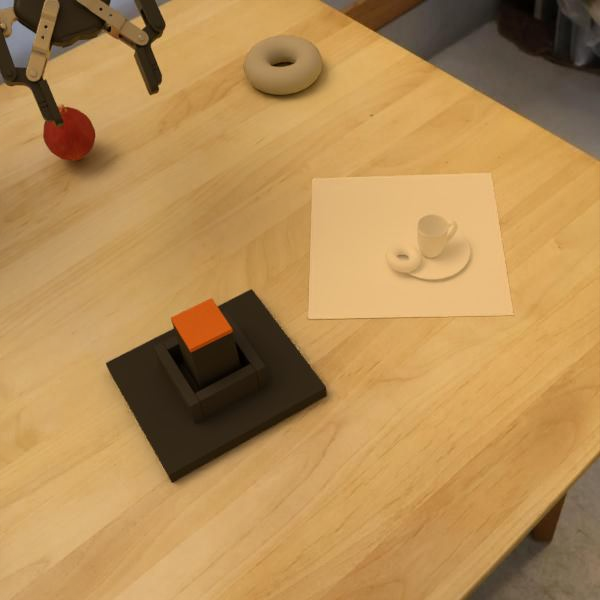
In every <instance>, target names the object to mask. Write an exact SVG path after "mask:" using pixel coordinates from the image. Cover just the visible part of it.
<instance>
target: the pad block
mask: <svg viewBox="0 0 600 600" xmlns="http://www.w3.org/2000/svg"><path fill="white" fill-rule="evenodd" d="M217 306H218V305H217V304H216V302H215V301H214V299H213V298H212V297H211V298H208V299H207V300H204V301H202V302H200V303H198V304H196V305H193V306H192V307H189V308H188V309H186V310H183V311H181V312H179V313H177V314H175V315H173V316H171V317H170V320H171V324H172V327H173V329H174V330H175V334H176V337H177V340H178V343H179V346H180V349H181V353H182V356H183V359H184V362H185V365H186V368H187V370H188V372H189V374H190V375H191V377H192V379H193V380H194V382H195V384H196V386H197V387H198V389H199V391H200V390H202V389H204V388H206V387H208V386H210V385H212V384H214V383H215V382H217V381H219V380H221V379H223V378H225V377H227V376H229V375H230V374H232V373H234V372H236V371H238V370H240V369H241V366H240V361H239V357H238V353H237V348H236V344H235V339H234V335H233V331H232V328H231V326H230V325H229V323H228V322H227V320H226V319H225V317H224V316H223V314H222V313H221V311H220V310H219V308H218V307H217Z"/></svg>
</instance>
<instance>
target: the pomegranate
mask: <svg viewBox="0 0 600 600" xmlns="http://www.w3.org/2000/svg"><path fill="white" fill-rule="evenodd" d="M57 107H58V109H59V112H60V114H61V116H62V119H63V122H64V125H63V126H60V127H57V128H56V126H55V124H54V122H50V123H47V122H46V121H45V120H44V123H43V134H42V138H43V141H44V144H45V145H46V147H47V149H48V150H49V151H50V152H51V154H53V155H54V156H56V157H58V158H59V159H61V160H65V161H76V162H78V161H81V160H82V159H84V157H86V156H88V154H89V153H90V152H91V151H92V149H93V147H94V145H95V141H96V129H95V127H94V124H93V123H92V121H91V119H90V118H89V116H88V115H86V114H85V113H83V112H82V111H81V110H80V109H77V108H74V107H70V106H65V105H64V104H63V103H61V104H58V105H57Z"/></svg>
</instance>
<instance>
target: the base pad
mask: <svg viewBox="0 0 600 600" xmlns="http://www.w3.org/2000/svg"><path fill="white" fill-rule="evenodd" d="M217 307H218V308H219V310H220V311H221V313H222V314H223V316H224V317H225V319H226V320H227V322H228V323H229V325H230V326H231V328H232V331H233V335H234V339H235V344H236V348H237V353H238V357H239V361H240V366H241V369H240V370H238V371H236V372H234V373H232V374H230V375H229V376H227V377H225V378H223V379H221V380H219V381H217V382H215V383H214V384H212V385H210V386H208V387H206V388H204V389H202V390H200V391H199V389H198V387H197V386H196V384H195V382H194V380H193V379H192V377H191V375H190V374H189V372H188V370H187V368H186V365H185V362H184V359H183V356H182V353H181V349H180V346H179V343H178V340H177V337H176V334H175V330H174V328H172V329H170V330H167V331H166V332H165V333H162V334H159V335H158V336H156V337H154V338H152V339H150V340H148V341H146V342H144V343H142V344H140V345H138V346H136V347H134V348H132V349H131V350H129V351H126V352H124V353H122V354H120V355H118V356H116V357H115V358H112V359H110V360H108V361H106V362H105V365H106V368H107V370H108V372H109V374H110V376H111V377H112V379H113V381H114V383H115V384H116V386H117V388H118V390H119V391H120V393H121V395H122V397H123V399H124V400H125V402H126V404H127V406H128V408H129V409H130V411H131V413H132V415H133V416H134V418H135V420H136V421H137V423H138V425H139V427H140V429H141V431H142V432H143V434H144V437H146V439H147V441H148V443H149V445H150V447H151V448H152V450H153V452H154V454H155V456H156V458H157V459H158V461H159V462H160V464H161V466H162V468H163V470H164V472H165V473H166V475H167V476H168V479H169V480H170V482H171V483H174V482H177V481H178V480H179V479H181V478H183V477H185V476H187V475H188V474H190V473H192V472H194V471H196V470H198V469H199V468H201V467H203V466H204V465H206V464H208V463H210V462H212V461H213V460H215V459H217V458H219V457H221V456H222V455H224V454H226V453H228V452H230V451H231V450H233V449H235V448H237V447H238V446H240V445H242V444H244V443H246V442H248V441H249V440H251V439H252V438H255V437H256V436H258V435H260V434H261V433H264V432H265V431H267V430H268V429H270V428H272V427H274V426H276V425H278V424H279V423H281V422H283V421H284V420H286V419H288V418H290V417H292V416H293V415H295V414H297V413H299V412H301V411H303V410H305V409H306V408H308V407H309V406H311V405H314V404H315V403H317V402H318V401H320V400H322V399H324V398H326V397H327V396H328V393H327V386H326V384H324V382H323V380H322V379H320V377H319V376H318V374H317V373H316V372H315V370H314V368H312V366H311V365H310V364H309V362H308V361H307V359H306V358H305V357H304V356H303V354H302V353H301V352H300V350H299V349H298V348H297V347H296V345H295V344H294V343H293V341H292V340H291V339H290V337H289V336H288V334H287V333H286V332H285V331H284V329H283V328H282V326H280V324H279V323H278V321H277V320H276V319H275V317H274V316H273V315H272V313H271V312H270V311H269V310H268V308H267V306H266V305H265V304H264V303H263V301H262V299H260V298H259V296H258V295H257V294H256V293H255V291H254V290H253V289H249V290H247V291H245V292H243V293H241V294H239V295H237V296H234V297H233V298H231V299H228V300H227V301H225V302H223V303H221V304H219V305H217Z"/></svg>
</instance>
